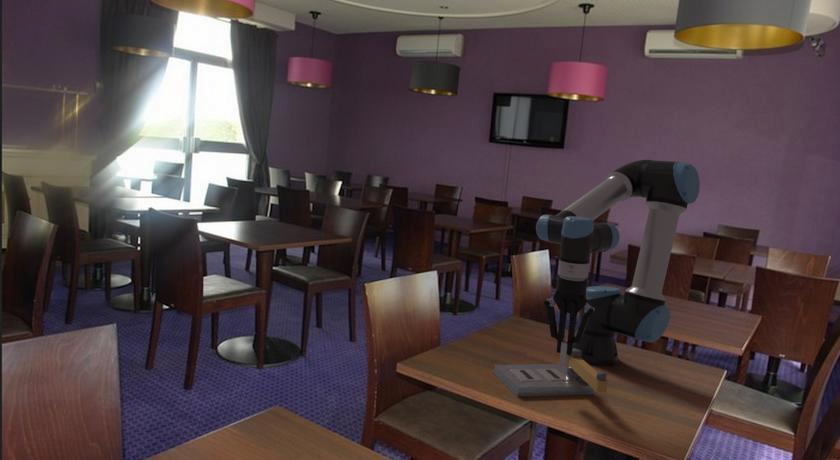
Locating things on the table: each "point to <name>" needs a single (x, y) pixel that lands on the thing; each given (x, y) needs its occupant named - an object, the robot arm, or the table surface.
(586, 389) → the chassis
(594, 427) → the table surface
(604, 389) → the yellow wooden bar
